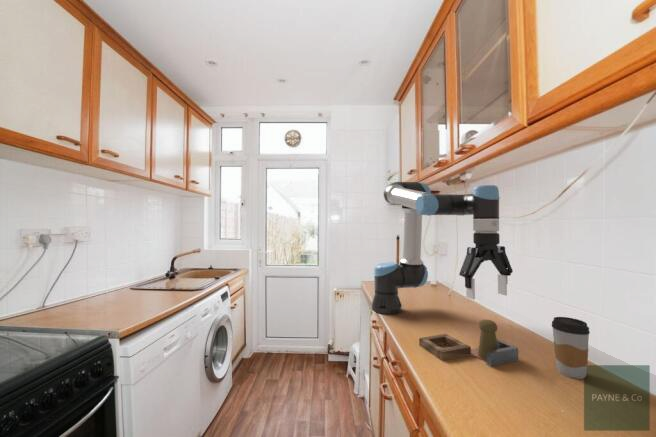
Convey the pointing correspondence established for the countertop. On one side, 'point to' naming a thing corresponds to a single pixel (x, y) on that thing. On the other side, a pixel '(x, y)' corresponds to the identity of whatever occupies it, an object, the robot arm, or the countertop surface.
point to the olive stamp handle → (487, 337)
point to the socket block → (446, 353)
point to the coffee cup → (571, 346)
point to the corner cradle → (499, 354)
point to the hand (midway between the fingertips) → (486, 296)
